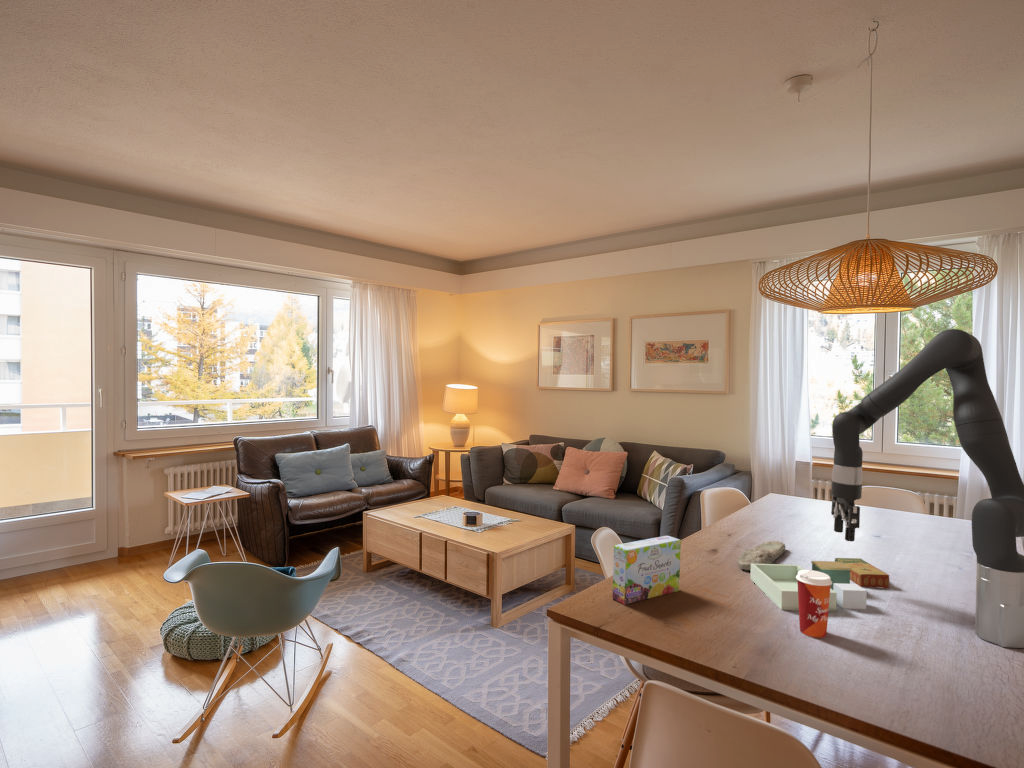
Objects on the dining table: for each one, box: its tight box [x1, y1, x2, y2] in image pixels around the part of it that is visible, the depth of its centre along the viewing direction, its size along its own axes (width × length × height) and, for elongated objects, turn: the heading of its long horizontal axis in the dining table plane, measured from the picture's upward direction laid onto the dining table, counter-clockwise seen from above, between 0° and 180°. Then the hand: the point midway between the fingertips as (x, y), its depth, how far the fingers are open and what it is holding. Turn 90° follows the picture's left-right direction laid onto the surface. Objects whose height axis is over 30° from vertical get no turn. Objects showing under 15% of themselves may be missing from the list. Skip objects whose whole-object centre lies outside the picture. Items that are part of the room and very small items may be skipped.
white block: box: [833, 583, 867, 610], centre depth 151 cm, size 5×6×5 cm
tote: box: [749, 563, 837, 613], centre depth 158 cm, size 22×14×5 cm, turn 177°
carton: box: [834, 557, 890, 589], centre depth 172 cm, size 8×16×4 cm, turn 175°
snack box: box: [612, 535, 682, 606], centre depth 156 cm, size 21×6×15 cm, turn 122°
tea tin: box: [810, 560, 851, 590], centre depth 163 cm, size 6×8×7 cm
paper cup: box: [796, 569, 832, 639], centre depth 134 cm, size 8×8×14 cm
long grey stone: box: [737, 540, 786, 572], centre depth 189 cm, size 35×5×10 cm
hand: (843, 536), depth 162 cm, fingers open, 8 cm apart
